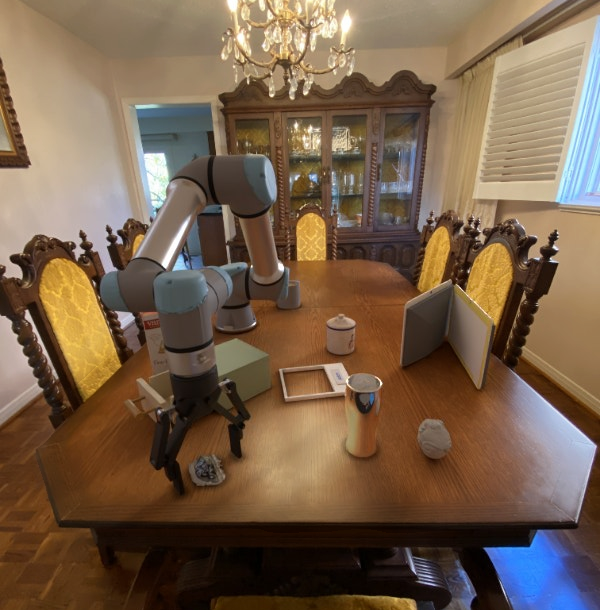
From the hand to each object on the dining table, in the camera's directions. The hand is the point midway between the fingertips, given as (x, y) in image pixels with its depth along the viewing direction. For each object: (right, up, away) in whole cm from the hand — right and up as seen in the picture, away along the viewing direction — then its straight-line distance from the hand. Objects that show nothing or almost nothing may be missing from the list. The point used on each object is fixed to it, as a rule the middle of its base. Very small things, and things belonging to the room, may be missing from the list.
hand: (209, 471), depth 64 cm
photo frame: (+21, +11, +28) cm, 37 cm away
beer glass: (+29, +2, +5) cm, 30 cm away
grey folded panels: (+56, +17, +39) cm, 71 cm away
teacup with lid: (+30, +19, +47) cm, 59 cm away
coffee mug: (+10, +34, +87) cm, 94 cm away
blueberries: (0, 0, 0) cm, 0 cm away
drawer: (-12, +7, +16) cm, 21 cm away
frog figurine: (+42, +2, +3) cm, 42 cm away
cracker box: (-16, +12, +31) cm, 37 cm away
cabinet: (-1, +10, +26) cm, 28 cm away
